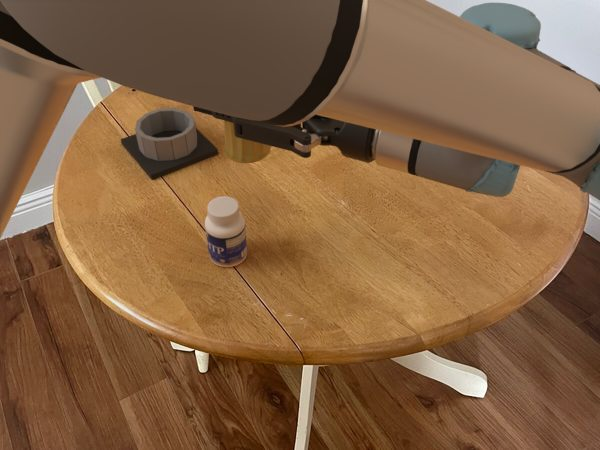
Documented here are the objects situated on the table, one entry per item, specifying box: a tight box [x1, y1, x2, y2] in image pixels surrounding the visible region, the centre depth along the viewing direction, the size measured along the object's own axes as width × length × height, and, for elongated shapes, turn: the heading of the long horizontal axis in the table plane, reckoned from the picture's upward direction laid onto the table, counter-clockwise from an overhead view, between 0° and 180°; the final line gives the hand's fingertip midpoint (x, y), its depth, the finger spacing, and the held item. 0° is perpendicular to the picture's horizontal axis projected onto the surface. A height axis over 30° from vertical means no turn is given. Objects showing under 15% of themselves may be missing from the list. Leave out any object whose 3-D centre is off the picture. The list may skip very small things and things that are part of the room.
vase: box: [223, 120, 272, 164], centre depth 73 cm, size 6×6×14 cm
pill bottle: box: [204, 195, 248, 268], centre depth 77 cm, size 5×5×9 cm
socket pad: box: [120, 107, 219, 181], centre depth 96 cm, size 12×12×5 cm
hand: (207, 88), depth 74 cm, fingers closed on vase, 5 cm apart
